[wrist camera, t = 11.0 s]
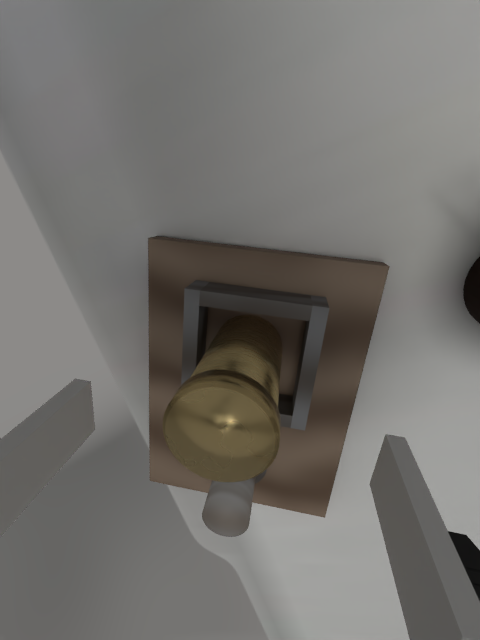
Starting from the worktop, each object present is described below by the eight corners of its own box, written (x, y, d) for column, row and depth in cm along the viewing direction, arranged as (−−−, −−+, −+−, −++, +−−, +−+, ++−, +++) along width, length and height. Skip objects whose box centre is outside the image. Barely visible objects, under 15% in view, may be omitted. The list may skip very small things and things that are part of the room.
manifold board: (156, 236, 23) (98, 248, 16) (383, 262, 22) (425, 289, 15) (156, 468, 31) (116, 544, 24) (323, 502, 29) (332, 595, 22)
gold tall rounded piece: (215, 307, 23) (161, 376, 14) (290, 317, 22) (287, 397, 13) (210, 373, 25) (160, 473, 16) (280, 384, 24) (271, 495, 15)
